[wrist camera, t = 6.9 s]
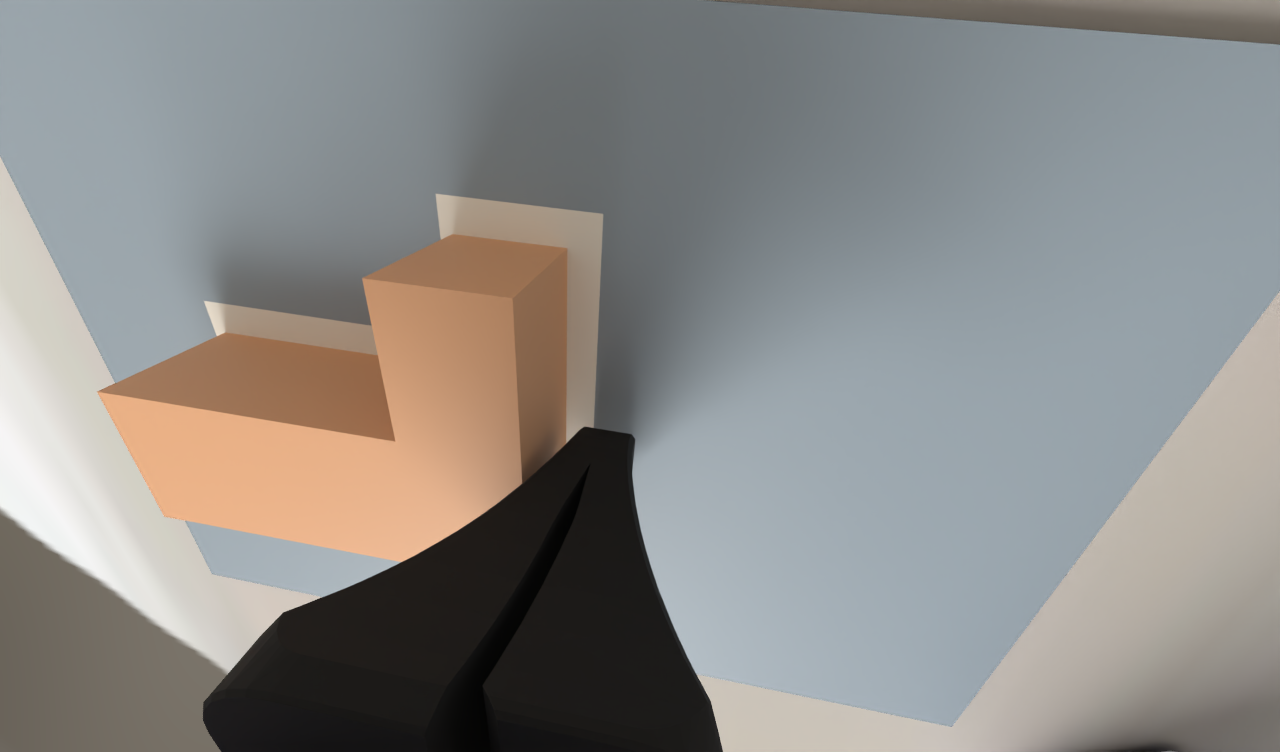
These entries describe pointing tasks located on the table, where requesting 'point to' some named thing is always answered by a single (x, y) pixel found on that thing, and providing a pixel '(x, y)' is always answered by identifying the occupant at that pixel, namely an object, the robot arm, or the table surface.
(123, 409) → the t block
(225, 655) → the table surface
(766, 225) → the board
